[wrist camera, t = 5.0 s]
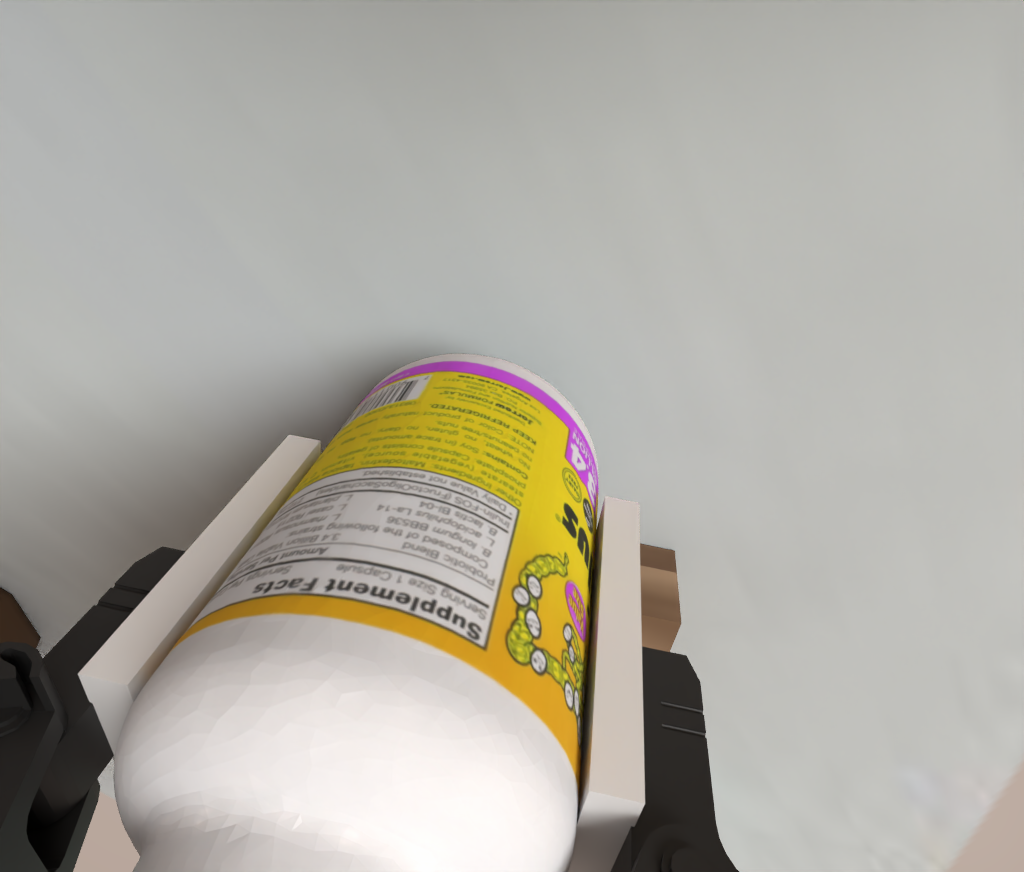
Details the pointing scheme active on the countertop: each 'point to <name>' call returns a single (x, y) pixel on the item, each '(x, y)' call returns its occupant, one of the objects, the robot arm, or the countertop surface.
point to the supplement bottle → (389, 651)
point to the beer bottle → (15, 622)
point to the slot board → (659, 597)
